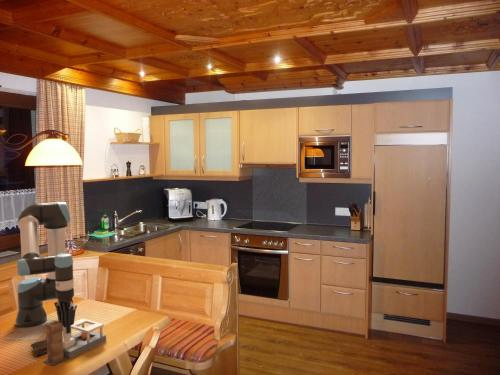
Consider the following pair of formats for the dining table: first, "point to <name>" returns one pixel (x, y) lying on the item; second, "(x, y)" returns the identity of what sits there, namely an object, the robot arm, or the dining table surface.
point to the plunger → (84, 336)
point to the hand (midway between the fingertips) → (67, 339)
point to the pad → (55, 362)
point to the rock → (39, 347)
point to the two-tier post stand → (85, 345)
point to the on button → (68, 343)
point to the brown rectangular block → (54, 341)
